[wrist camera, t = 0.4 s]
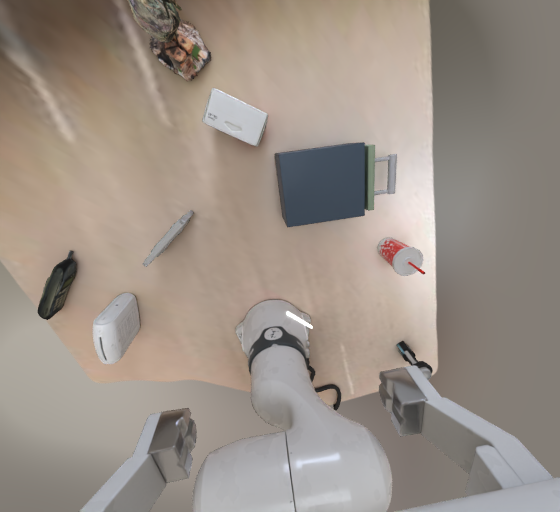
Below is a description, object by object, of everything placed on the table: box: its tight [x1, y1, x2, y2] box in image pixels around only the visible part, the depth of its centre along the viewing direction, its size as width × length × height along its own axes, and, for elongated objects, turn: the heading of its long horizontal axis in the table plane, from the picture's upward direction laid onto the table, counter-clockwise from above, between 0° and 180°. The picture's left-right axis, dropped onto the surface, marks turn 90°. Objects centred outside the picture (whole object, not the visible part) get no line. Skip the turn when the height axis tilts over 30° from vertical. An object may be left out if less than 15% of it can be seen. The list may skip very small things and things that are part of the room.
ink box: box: [202, 88, 268, 147], centre depth 42 cm, size 9×5×12 cm, turn 68°
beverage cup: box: [378, 238, 425, 276], centre depth 54 cm, size 6×6×14 cm
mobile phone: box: [38, 251, 77, 320], centre depth 53 cm, size 5×3×15 cm
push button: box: [397, 341, 432, 380], centre depth 69 cm, size 7×5×10 cm
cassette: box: [143, 210, 194, 267], centre depth 51 cm, size 12×2×8 cm, turn 135°
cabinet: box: [275, 143, 365, 227], centre depth 49 cm, size 15×13×8 cm
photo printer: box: [93, 293, 140, 364], centre depth 54 cm, size 10×4×12 cm, turn 176°
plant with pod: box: [128, 0, 211, 81], centre depth 33 cm, size 8×11×20 cm
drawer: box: [365, 145, 397, 211], centre depth 50 cm, size 18×11×6 cm, turn 97°
